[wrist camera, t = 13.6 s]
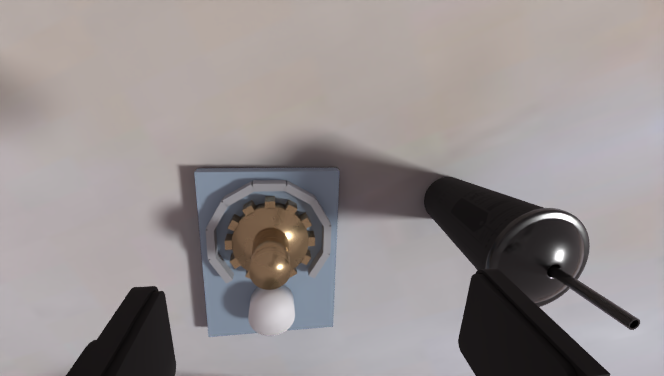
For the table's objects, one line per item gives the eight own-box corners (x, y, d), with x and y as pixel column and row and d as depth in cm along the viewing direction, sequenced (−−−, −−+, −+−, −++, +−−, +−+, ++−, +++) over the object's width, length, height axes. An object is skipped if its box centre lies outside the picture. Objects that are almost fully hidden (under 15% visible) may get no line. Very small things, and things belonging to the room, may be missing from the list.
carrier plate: (197, 168, 31) (187, 179, 27) (336, 167, 33) (344, 178, 29) (211, 327, 36) (203, 355, 32) (330, 317, 38) (337, 343, 34)
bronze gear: (224, 197, 30) (211, 225, 24) (314, 195, 32) (323, 221, 26) (229, 276, 33) (219, 320, 27) (312, 271, 34) (320, 312, 28)
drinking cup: (414, 238, 37) (563, 400, 18) (407, 172, 34) (571, 279, 15) (479, 222, 37) (686, 361, 19) (476, 157, 35) (712, 241, 16)
